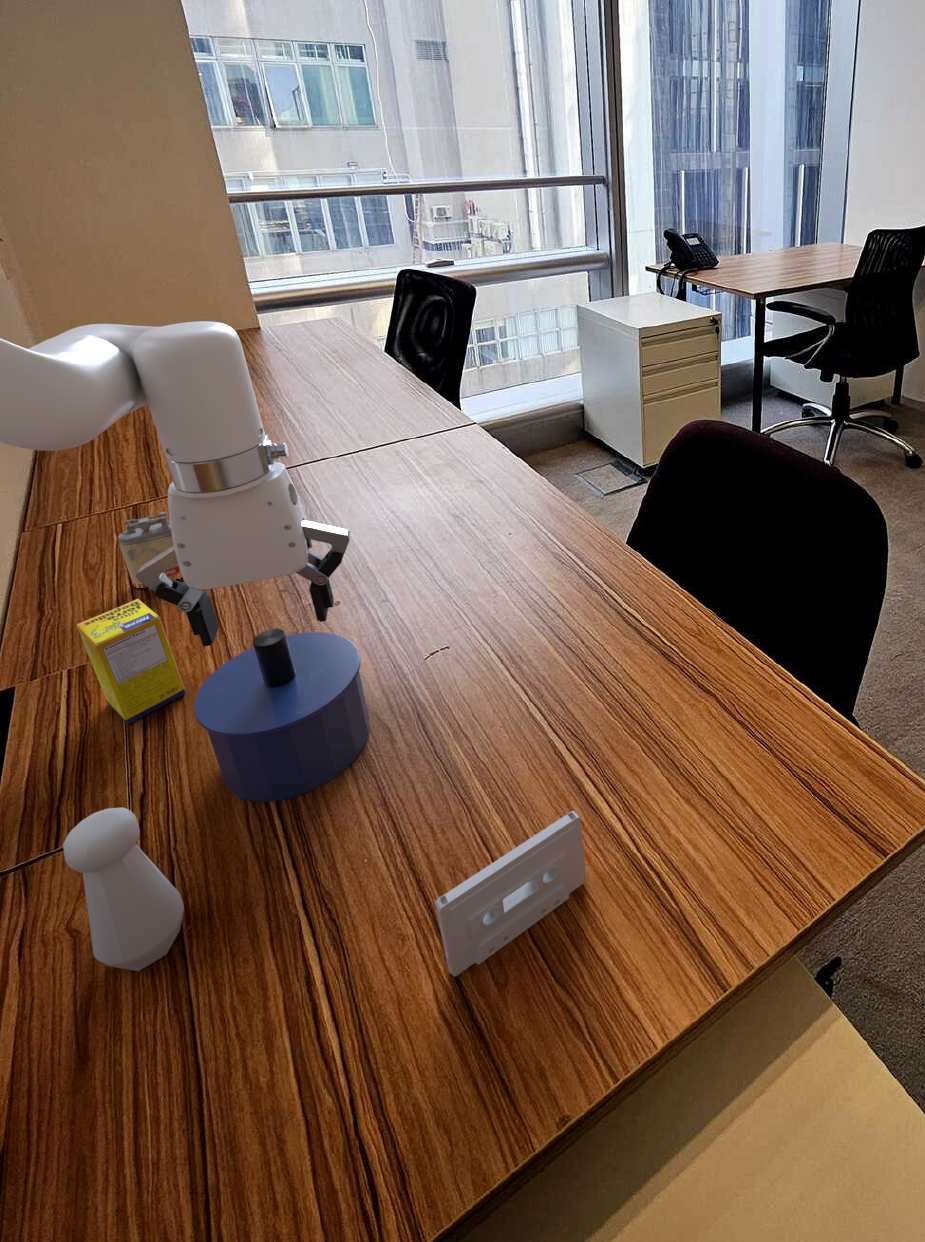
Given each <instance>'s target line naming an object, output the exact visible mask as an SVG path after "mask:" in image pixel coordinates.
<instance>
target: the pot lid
mask: <svg viewBox="0 0 925 1242" xmlns="http://www.w3.org/2000/svg"><path fill="white" fill-rule="evenodd" d="M252 645H253V646H252V647H250V648H248V649H246V650H245V651H242V652H241V653H239V654H237V655H235V656H234V657H232V658H230V659H229V660H227V661H226V662H224V663H223V664H222V665H221V666H219V667H218V668H217V669H216V670H214V672H212V673H211V674H210V675H209V677H208V678H207V679H206V680H205V681H204V682H203V684H202V685H201V686H200V689H199V690H198V691H197V693H196V695H195V699H194V703H193V706H194V707H193V711H194V716H195V718H196V720H197V722H198V724H199V725H200V726H201V727H202V728H203V729H204V730H206V731H207V730H208V731H209V732H211V733H214V734H217V735H220V736H225V737H235V738H241V737H254V736H261V735H266V734H271V733H274V732H278V731H281V730H284V729H287V728H290V727H293V726H295V725H297V724H300V723H302V722H304V721H306V720H308V719H310V718H312V717H314V716H316V715H317V714H319V713H321V712H322V711H324V710H325V709H327V708H328V707H329V706H331V705H332V704H334V703H335V702H336V701H337V700H338V699H339V698H341V697H342V696H343V695H344V694H345V692H346V691H347V690H348V689H349V688H350V687H351V685H352V684H353V682H354V681H355V679H356V677H357V675H358V672H359V673H360V670H361V669H360V668H361V655H360V652H359V649H358V647H357V646H356V645H355V644H354V642H352V641H351V640H349V639H348V638H347V637H344V636H342V635H339V634H335V633H332V632H331V633H330V632H323V631H321V632H320V631H318V632H317V631H313V632H311V631H310V632H309V631H307V632H300V633H293V634H286V631H285V630H284V629H283V628H279V627H278V628H270V629H266V630H264V631H263V630H262V631H261V632H260V633H258V634H256V635H255V636H254V638H253V639H252Z"/></svg>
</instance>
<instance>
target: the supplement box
mask: <svg viewBox="0 0 925 1242" xmlns="http://www.w3.org/2000/svg"><path fill="white" fill-rule="evenodd" d="M76 627H77V630H78V633H79V635H80V638H81V641H82V643H83V645H84V648H85V651H86V653H87V656H88V658H89V660H90V663H91V666H92V668H93V670H94V674H95V675H96V678H97V680H98V683H99V685H100V687H101V690H102V692H103V695H104V697H105V701H106V702H107V704H108V706H110V708H111V709H113V711H114V712H115V713H116V714H117V715H118V716H119V717H120V718H121V720H122V721H123V722H125V724H126V725H128V726H129V725H131V724H133V723H135V722H136V721H138V720H140V719H142V718H144V717H146V716H147V715H149V714H151V713H153V712H155V711H157V710H158V709H160V708H163V707H164V706H166V705H168V704H170V703H172V702H174V701H175V700H177V699H179V698H180V697H183V696H186V694H187V692H186V688H185V685H184V683H183V680H182V677H181V674H180V672H179V669H178V666H177V662H176V660H175V657H174V655H173V650H172V649H171V646H170V644H169V641H168V637H167V634H166V632H165V629H164V626H163V623H162V620H161V617H160V615H158V614H157V613H156V612H154V611H153V610H152V609H151V608H149V607H148V605H146V604H145V603H143V601H141V600H140V599H139V598H136V599H134V600H132V601H129V602H127V603H125V604H122V605H120V606H118V607H115V608H113V609H111V610H108V611H106V612H103V613H101V614H99V615H95V616H93V617H91V618H89V619H87V620H84V621H81V622H79V623H77V624H76Z"/></svg>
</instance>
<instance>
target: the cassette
mask: <svg viewBox="0 0 925 1242" xmlns="http://www.w3.org/2000/svg"><path fill="white" fill-rule="evenodd" d="M583 841H584V840H583V830H582V820H581V818H580V816H579V815H578V814H577V812H576V811H574V810H571V811H570V812H568V813H567V814H565V815H563V816H562V817H561V818H559V819H557V820H556V821H554V822H553V823H551V824H550V825H549V826H547V827H545V828H544V829H542V830H541V831H539V832H538V833H536V834H534V835H533V836H532V837H529V838H528V839H527V840H525V841H524V842H522V843H521V844H519V845H518V846H516V847H515V848H513V849H512V850H510V851H508V852H507V853H506V854H504V855H502V856H500V857H499V858H498V859H496V860H495V861H494V862H493V861H492V863H490V864H488V865H487V866H486V867H484V868H483V869H481V870H480V871H478V872H476V873H475V874H473V875H472V876H470V877H468V879H466V880H465V881H462V882H461V883H459V884H457V886H455V887H454V888H452V889H451V890H448V891H447V892H446V893H444V894H443V895H440V896H439V897H438V898H437V899H436V900H435V903H434V905H435V911H436V916H437V920H438V926H439V929H440V935H441V939H442V944H443V950H444V954H445V961H446V965H447V970H448V972H449V974H451V975H452V977H457V976H459V975H460V974H461V973H463V972H464V971H465V970H467V969H468V968H470V967H471V966H472V965H475V964H476V965H478V966H479V965H480V964H482V963H484V962H485V961H486V960H487V959H489V958H490V957H492V955H494V954H495V953H497V952H498V951H500V950H501V949H502V948H503V947H505V946H506V945H508V944H509V943H511V942H512V941H513V940H515V939H516V938H517V937H518V936H520V935H521V934H523V933H524V932H525V931H527V930H528V929H529V928H531V927H532V926H534V925H535V924H536V923H537V922H539V921H540V920H542V919H543V918H544V917H546V916H547V915H549V914H550V913H551V912H552V911H554V910H555V909H557V908H558V907H559V906H561V905H562V904H564V903H565V902H566V901H568V900H569V899H570V898H571V896H570V894H571V893H573V892H574V891H575V890H576V889H578V888H579V887H580V886H582V885H583V884H584V883H585V882H586V880H587V873H586V864H585V863H586V861H585V852H584V842H583Z"/></svg>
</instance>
